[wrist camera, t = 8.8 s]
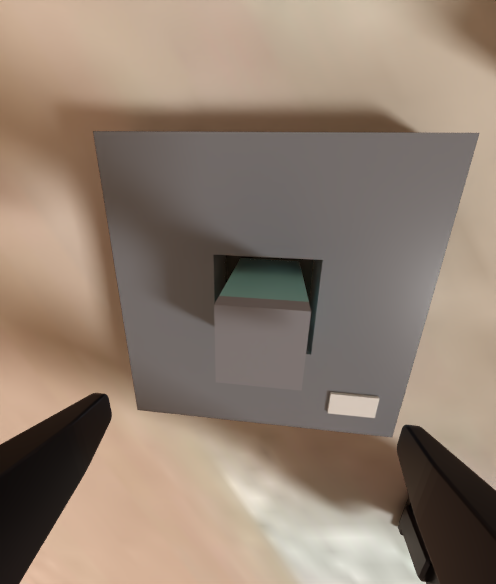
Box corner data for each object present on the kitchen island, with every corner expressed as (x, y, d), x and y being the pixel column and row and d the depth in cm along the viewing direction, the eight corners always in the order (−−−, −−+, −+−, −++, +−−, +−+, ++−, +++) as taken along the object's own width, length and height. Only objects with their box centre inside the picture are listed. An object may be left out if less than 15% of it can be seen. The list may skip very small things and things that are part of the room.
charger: (299, 261, 19) (311, 311, 11) (294, 314, 20) (301, 390, 13) (240, 258, 19) (214, 304, 11) (239, 310, 20) (215, 382, 13)
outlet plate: (437, 144, 15) (482, 132, 12) (375, 399, 22) (393, 439, 18) (128, 141, 17) (90, 130, 14) (157, 379, 24) (136, 411, 20)
